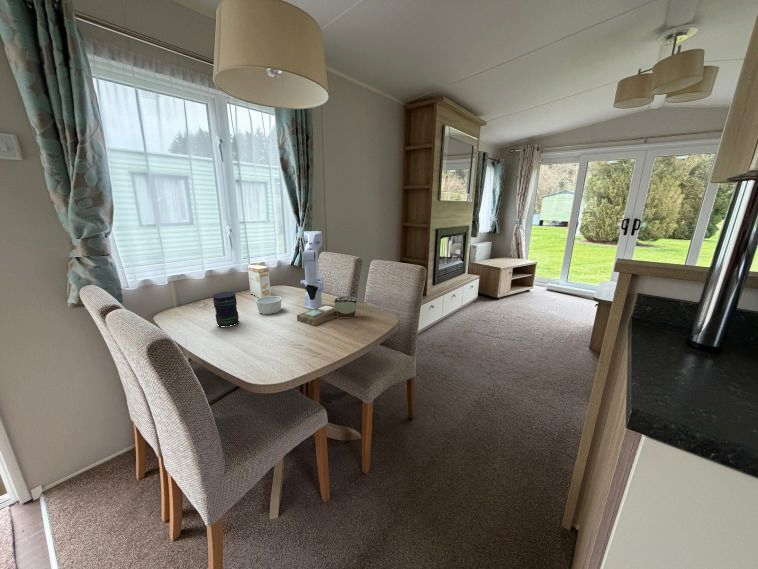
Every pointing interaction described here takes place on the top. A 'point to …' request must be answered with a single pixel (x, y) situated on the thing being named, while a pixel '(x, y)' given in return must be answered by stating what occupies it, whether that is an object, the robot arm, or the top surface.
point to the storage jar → (226, 308)
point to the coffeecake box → (259, 280)
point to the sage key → (313, 313)
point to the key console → (317, 317)
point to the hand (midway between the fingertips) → (312, 299)
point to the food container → (345, 307)
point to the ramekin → (269, 304)
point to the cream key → (326, 309)
